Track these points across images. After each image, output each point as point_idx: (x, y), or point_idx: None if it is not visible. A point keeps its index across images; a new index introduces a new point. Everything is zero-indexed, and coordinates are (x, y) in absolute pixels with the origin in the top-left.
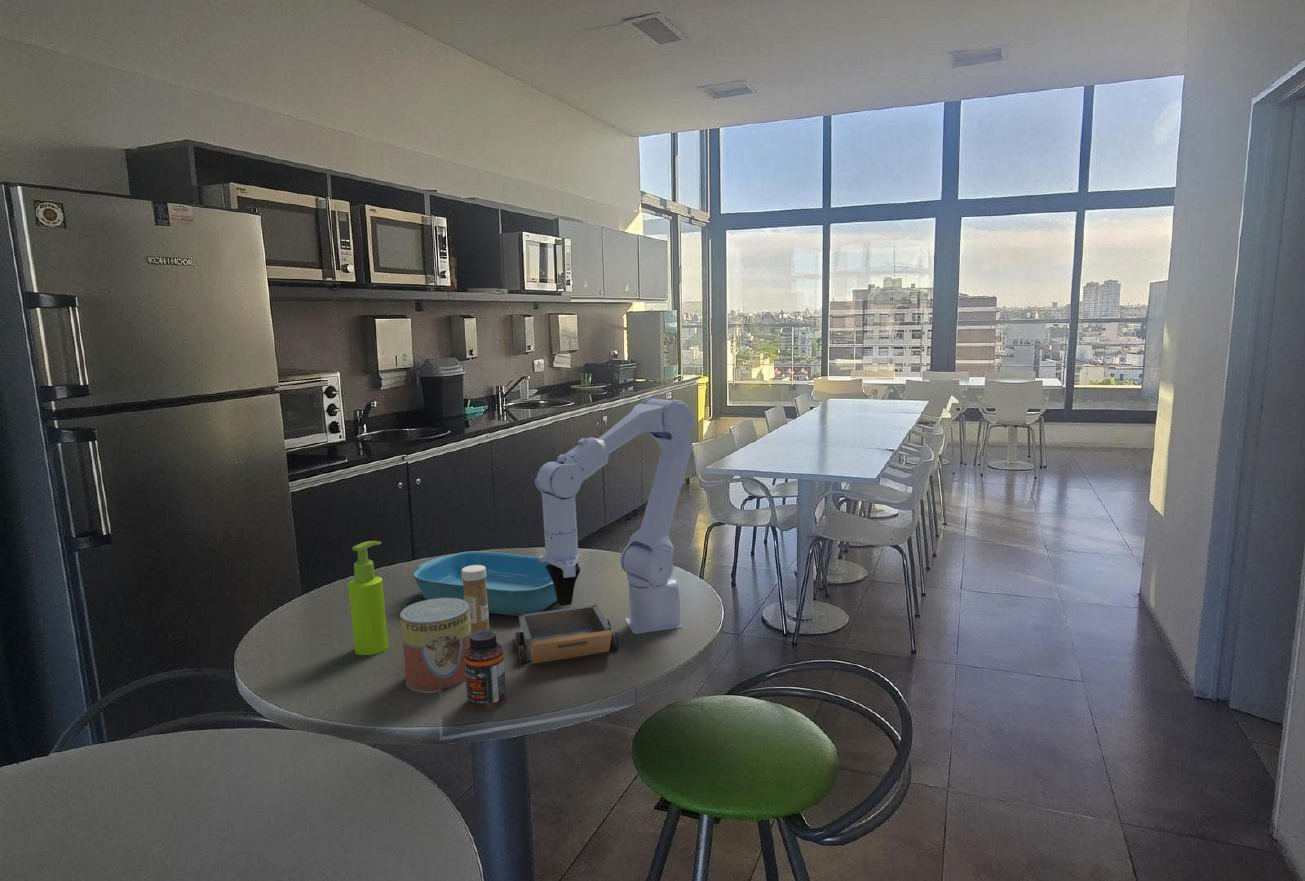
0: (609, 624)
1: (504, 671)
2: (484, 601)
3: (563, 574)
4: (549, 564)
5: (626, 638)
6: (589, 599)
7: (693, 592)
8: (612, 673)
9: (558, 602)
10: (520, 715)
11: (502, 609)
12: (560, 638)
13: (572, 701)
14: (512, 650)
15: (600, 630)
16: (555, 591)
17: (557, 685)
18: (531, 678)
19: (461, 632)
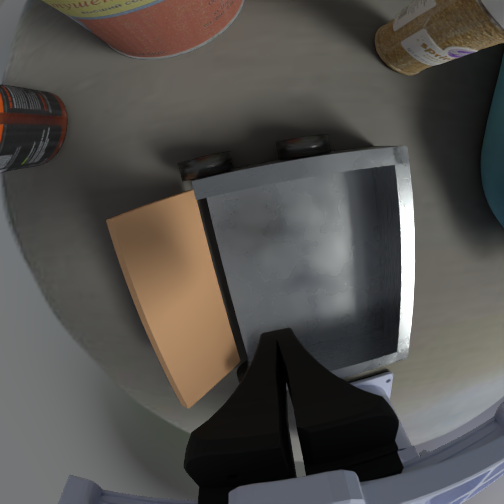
0: None
1: (3, 171)
2: (442, 39)
3: (72, 486)
4: (396, 424)
5: None
6: (500, 295)
7: (439, 428)
8: (149, 355)
9: (270, 335)
10: (11, 202)
11: (491, 114)
12: (136, 301)
13: (50, 285)
14: (298, 128)
15: None
16: (288, 354)
17: (96, 257)
18: (126, 197)
19: (59, 8)
